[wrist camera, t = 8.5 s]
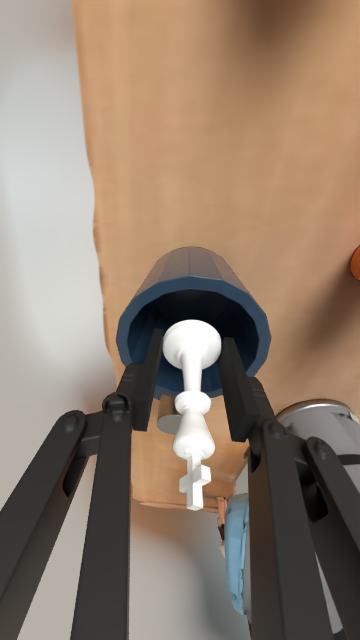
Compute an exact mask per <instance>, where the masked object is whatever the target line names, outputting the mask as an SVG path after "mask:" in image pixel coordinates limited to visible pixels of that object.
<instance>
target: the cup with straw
mask: <svg viewBox="0 0 360 640" xmlns="http://www.w3.org/2000/svg"><path fill="white" fill-rule="evenodd" d="M350 267H351V272H352V274H353V276H354V277H355V278H356V279H358V280H360V246H359V247H358V249H357V250H356V252H355V253H354V255H353V257H352V260H351V266H350Z"/></svg>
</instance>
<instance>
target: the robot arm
mask: <svg viewBox="0 0 360 640" xmlns="http://www.w3.org/2000/svg"><path fill="white" fill-rule="evenodd" d="M163 332H164V329H157V328H154V331H153V334H152V338H151V341H150V345H149V348H148V351H147V355H146V358H145V361H144V364H138V363H130V364H129V365H128V366H127V367H126V368H125V371H124V373H123V376H122V378H121V381H120V383H119V386H118V388H117V390H116V392H114V393H112V394H110V395H108V396H107V397H106V398H105V399H104V401H103V403H102V408H103V410H102V411H100V412H97V413H92V414H87V415H85V414H84V413H83V412H82V411H78V410H73V411H70V412H67V413H65V414H64V415H62V416H61V417H60V418H59V419H58V421H57V422H56V423H55V425H54V426H53V428H52V430H51V431H50V433H49V434H48V436H47V438H46V439H45V441H44V442H43V444H42V445H41V447H40V449H39V450H38V452H37V454H36V455H35V457H34V458H33V460H32V462H31V463H30V465H29V466H28V468H27V469H26V471H25V473H24V474H23V476H22V477H21V479H20V481H19V483H18V484H17V486H16V487H15V489H14V490H13V492H12V494H11V495H10V497H9V498H8V500H7V502H6V503H5V505H4V507H3V508H2V510H1V511H0V640H17V638H18V635H19V633H20V630H21V627H22V625H23V622H24V620H25V617H26V615H27V612H28V610H29V607H30V605H31V602H32V600H33V597H34V595H35V592H36V590H37V587H38V585H39V582H40V580H41V577H42V575H43V572H44V570H45V567H46V564H47V562H48V560H49V557H50V554H51V552H52V550H53V547H54V545H55V542H56V540H57V537H58V535H59V532H60V529H61V527H62V524H63V522H64V519H65V517H66V514H67V512H68V509H69V507H70V504H71V502H72V499H73V497H74V494H75V492H76V489H77V487H78V484H79V482H80V479H81V477H82V474H83V472H84V469H85V467H86V464H87V462H88V459H89V457H90V456H91V455H95V454H98V455H97V462H96V469H95V476H94V482H93V489H92V496H91V503H90V509H89V516H88V523H87V529H86V536H85V543H84V549H83V557H82V563H81V570H80V577H79V584H78V590H77V597H76V603H75V611H74V618H73V624H72V631H71V637H70V640H129V577H130V576H129V575H130V503H131V499H130V498H131V434H132V430H136V431H145V432H147V427H148V422H149V417H150V412H151V406H152V401H153V396H154V391H155V386H156V380H157V375H158V370H159V365H160V360H161V354H162V343H163ZM217 365H218V370H219V376H220V381H221V386H222V392H223V397H224V402H225V408H226V413H227V418H228V424H229V429H230V434H231V440H232V441H235V442H244V443H245V441H246V439H247V438H248V440H249V444H250V445H249V447H248V449H247V450H246V452H245V454H244V458H245V459H246V457H247V456H248V489H249V490H248V491H249V492H248V493H244V494H239V495H234V496H232V497H231V498H230V499H229V501H228V503H227V507H226V513H225V528H224V540H225V559H226V571H227V580H228V586H229V589H230V594H231V601H232V604H233V607H234V609H235V610H236V611H237V612H239V613H240V614H241V615H245V614H246V615H247V619H248V623H249V630H250V636H251V640H360V423H359V421H358V419H357V417H356V416H355V415H354V414H353V412H352V411H351V410H350V409H349V408H348V406H346V405H345V404H343V403H341V402H338V401H335V400H328V399H317V400H309V401H304V402H301V403H298V404H295V405H293V406H290V407H289V408H287V409H285V410H284V411H282V412H281V413H280V414H279V415H278V416H277V417H275V415H274V412H273V410H272V408H271V405H270V403H269V401H268V398H267V396H266V394H265V392H264V389H263V386H262V384H261V383H260V382H259V380H258V379H257V378H256V377H250V376H247V374H246V372H245V369H244V366H243V363H242V360H241V358H240V355H239V352H238V349H237V346H236V343H235V341H234V338H229V337H224V340H223V343H222V346H221V352H220V355H219V357H218V360H217Z"/></svg>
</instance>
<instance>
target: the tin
mask: <svg viewBox="0 0 360 640" xmlns="http://www.w3.org/2000/svg"><path fill="white" fill-rule="evenodd" d="M185 320H199V321H203V322H205V323H208V324H209V325H211V326H212V327H213V328H215V329H216V331H217V332H218V334H219V336H220V339H221V346H222V343H223V340H224V337H229V338H234V341H235V343H236V346H237V349H238V352H239V355H240V358H241V360H242V363H243V366H244V369H245V372H246V374H247V376H250V377H254V376H255V375H256V373H257V372H258V370H259V369H260V368H261V366H262V365H263V364H264V362H265V361H266V359H267V355H268V350H269V346H270V342H271V334H270V329H269V325H268V320H267V316H266V314H265V313H264V311H263V310H262V309H261V307H260V306H259V305H258V303H257V302H256V301H255V299H254V298H253V297H252V296H251V294H250V293H249V292H248V290H247V289H246V288H245V286H244V285H243V284H242V282H241V281H240V280H239V278H238V277H237V276H236V274H235V273H234V272H233V270H232V269H231V268H230V267H229V265H228V264H227V263H226V262H225V260H224V259H223V258H222V257H221V256H219V255H217V254H216V253H214V252H212V251H210V250H208V249H205V248H200V247H183V248H179V249H176V250H173V251H171V252H169V253H167V254H166V255H165V256H163V257H162V258H161V259H159V260H158V261H157V263H156V264H155V266H154V267H153V269H152V270H151V272H150V273H149V274H148V276H147V278H146V279H145V281H144V282H143V284H142V285H141V287H140V288H139V290H138V291H137V293H136V294H135V296H134V297H133V299H132V300H131V302H130V303H129V305H128V306H127V308H126V309H125V311H124V312H123V314H122V315H121V317H120V319H119V324H118V330H117V336H116V344H117V347H118V351H119V355H120V358H121V361H122V363H123V364H124V365H125V367H127V366H128V365H129V364H130V363H138V364H144V361H145V358H146V355H147V351H148V348H149V345H150V341H151V338H152V334H153V331H154V328H157V329H164V332H163V337H164V335H165V333H166V331H167V330H168V329H169V328H170V327H171V326H173V325H174V324H176V323H178V322H181V321H185ZM217 360H218V359H217ZM217 360H216V361H215V362H214V363H213V364H212V365H211V366H209V367H207V368H205V369H202V376H201V392H203V393H205V394H206V395H207V396H208V397H209V398H213V397H217V396H220V395H223V392H222V386H221V381H220V376H219V370H218V365H217ZM155 391H156V392H158V393H161V394H164V395H167V396H169V397H174V398H176V397H177V396H178V395H179V394H180V393H182V392H184V381H183V372H182V369H179V368H177V367H175V366H173V365H172V364H170V363H169V362H168V360H167V359H166V358H165V356H164V353H163V345H162V354H161V360H160V365H159V370H158V375H157V380H156V386H155Z"/></svg>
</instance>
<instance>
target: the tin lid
mask: <svg viewBox="0 0 360 640" xmlns="http://www.w3.org/2000/svg"><path fill="white" fill-rule="evenodd" d="M153 397H154V398H156V399H158V400H160V406H159V412H158V419H157V426H158V428H159V429H160V430H161V431H163V432H165V433H168V434H176V433H177V431H178V428H179V425H180V422H181V419H182V417H183V415H182V414H180V413H179V412H178V411H177V410H176V407H175V403H174V402H175V398H174V397H169V396H167V395H164V394H161V393H158V392H156V391H154V396H153Z"/></svg>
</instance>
